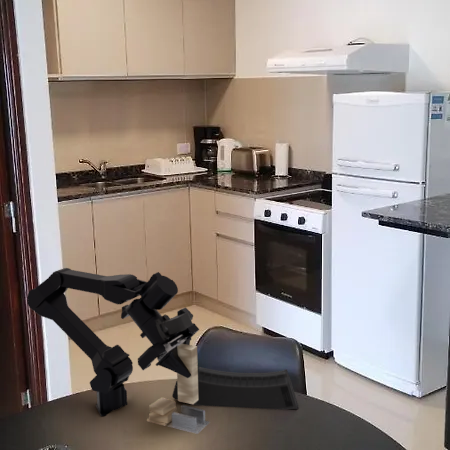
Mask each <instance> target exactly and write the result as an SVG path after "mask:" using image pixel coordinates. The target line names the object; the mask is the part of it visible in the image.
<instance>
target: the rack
mask: <svg viewBox="0 0 450 450" xmlns="http://www.w3.org/2000/svg"><path fill="white" fill-rule="evenodd" d="M210 423H211V421H208V420H206V410H205V409H203V408H198V407H192V406H188V405H185V404H182V405H181V406H180V413H175V412H173V413H172V421H171V422H169V423H168V424H167V427H169V428H172V429H173V428H174V429H177V430H180V431H185V432H188V433H193V434H196V435H197V434H198V435H199V433H200V432H201V431H202V430H203V429H205V427H207V426H208V425H209V424H210Z"/></svg>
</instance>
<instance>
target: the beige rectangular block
mask: <svg viewBox="0 0 450 450" xmlns="http://www.w3.org/2000/svg"><path fill="white" fill-rule="evenodd" d="M177 351H178V356H179V357H180V359H181V360H182V362H183V363H184V364H185V366H186V367H187V369H188V370H189V372H190V374H191V376H190V377H189V378H186V377H184V376H182V375H180V374H178V373H176V376H177V377H176V381H177V384H178V400H177V401H178V402H180V403H184V404H185V403H186V404H190V405H193V404H194V403H196V402H197V401H198V346H197V345H192V344H190V345H187V344H180V345H179V346H177Z"/></svg>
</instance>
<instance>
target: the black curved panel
mask: <svg viewBox="0 0 450 450" xmlns="http://www.w3.org/2000/svg"><path fill="white" fill-rule="evenodd" d="M292 383H293V382H292V380H291V377H290V375H289V372H288V369H286V368H285V369H283V370H280V371H278V370H277V371H272V372H271V371H270V372H232V371H222V370H216V369H210V368H205V367H201V365H200V366H198V401H197V402H196V403H194V404H192V405H194V406H200V407H207V406H208V407H224V408H244V409H245V408H246V409H247V408H249V409H267V410H298V409H299V403H298V400H297V397H296V393H295V390H294V387H293V384H292ZM171 397H172V399H174V400H176V401H178V384H177V380H176V381H175V385H174V388H173V392H172V396H171Z"/></svg>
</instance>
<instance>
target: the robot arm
mask: <svg viewBox="0 0 450 450" xmlns="http://www.w3.org/2000/svg"><path fill="white" fill-rule="evenodd" d="M68 289H71V290H75V291H79V292H80V291H81V292H86V293H89V294H96V295H99V296H101V297H102V298H103V299H104V300H106V301H108V302H110V303H112V304H115V305H123V304H125V303H127V302H130V301H131V300H132V301H131V302H130V303H129V304H125V305H124V306H122V307H121V315H120V318H121V319H122V320H124V319H126V318H128V317H130V319H131V320H133V322H134V323H135V324H136V326H137V327H138V328H139V330H140V331H141V333H140V334H139V337H141V338H142V339H144V338H145V337H146V338H147V340H148V341H149V342H150V344H152V345H150V346H149V347H148V348H146V350H145V351H144V352H143V353H142V354H141V355H139V357H138V358H137V365H138V366H139V368H140V369H141V371H145V370H146V369H148V368H150V367H151V366H152V363H153V362H154V361H155V360H157V361H158V362H156V363H155V366H157V367H158V366H159V367H162V368H165V369H167V370H170V371H172V372H174V373H176V374H177V373H178V374H180V375H182V376H184V377H186V378H189V377H190V376H191V374H190V372H189V370H188V369H187V367H186V366H185V364H184V363H183V362H182V360H181V359H180V357H179V356H178V351H177V346H179V345H180V344H187V345H191V341H192V337H193V336H195V335H196V334H197V332H199V331H200V328H199V327H198V326H197V324H195V322H193V321H192V320H193V317H194V314H193V313H192V312H191V311H190V310H189V309H188V308H187V307H184V308H181V309H179V310H177V315H176V316H173V317H170V316H169V315H167V314H163V315H162V314H161V313H160V311H159V310H163V308H165V306H166V305H168V304H169V302H171V301H172V299H174V297H175V296H176V295H177V294H178V292H179V290H178V289H179V288H178V286H177V283H176V282H175V281H174V280H173V279H171V278H169V277H168V276H166V275H162V273H161V272H159V271H158V272H155V273H153V274H152V275H151V276H150V278H149V279H148V281H145V280H142V279H139V278H138V277H137V276H136V275H134V274H130V273H129V274H127V273H125V274H115V275H103V274H96V273H91V272H86V271H81V270H80V271H79V270H74V269H71V268H69V267H63V268H61V269H57V270H55V271H53V272H51V274H50V275H49V276H48V278H46V279H45V280H43V282H41V283H40V284H38V285H37V286H36V287H35V288H33V289H30V290H29V291H28V293H27V299H26V300H27V305H28V307H29V308H30V309H31V310H32V311H34V313H36V314H37V315H38V316H39V317H42V318H44V319H45V318H46V319H49V320H52V321H53V322H54V323H55V324H56V325H57V326H58V327H59V328H60V330H61V331H62V332H64V333H65V335H67V336H68V337H69V338H70V339H71V341H73V342H74V344H75V345H76V346H77V347H78V348H79V349H80V350H81V351H82V353H84V355H86V356H87V358H89V360H91V364H92V369H93V373H94V374H95V376H94V377H93V378H92V379H91V380H90V381H89V385H90V388H91V391H92V392H93V391H94V392H96V401H97V402H96V404H95V407H96V409H97V411H98V413H99V415H100V417H106V416H107V415H108V414H110V413H112V412H114V411H117V410H119V409H121V408H122V407H125V406H127V405H128V393H127V389H126V387H125V384H124V383H125V382H127V381H129V378H130V376H131V375H132V373H133V372H134V371H133V370H134V367H133V361H132V359H131V358H130V354H129V353H127V352H126V351H125V350H124V349H123V348H122V347H121V345H119V344H116V345H114V346H112V347H111V346H109V345H107V344H105V342H104V341H102V339H101V338H100V337H99V336H98V335H97V334H96V333H95V332H94V331H93V330H92V329H91V328H90V327H89V325H87V324H86V323H85V322H84V321H83V320H82V319H81V318H80V317H79V316H78V315H77V314H76V313H75V312H74V311H73V309H71V308H70V306H69V305H68V300H67V296H66V294H65V293H66V292H67V290H68ZM139 296H140V298H137V297H139Z"/></svg>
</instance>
